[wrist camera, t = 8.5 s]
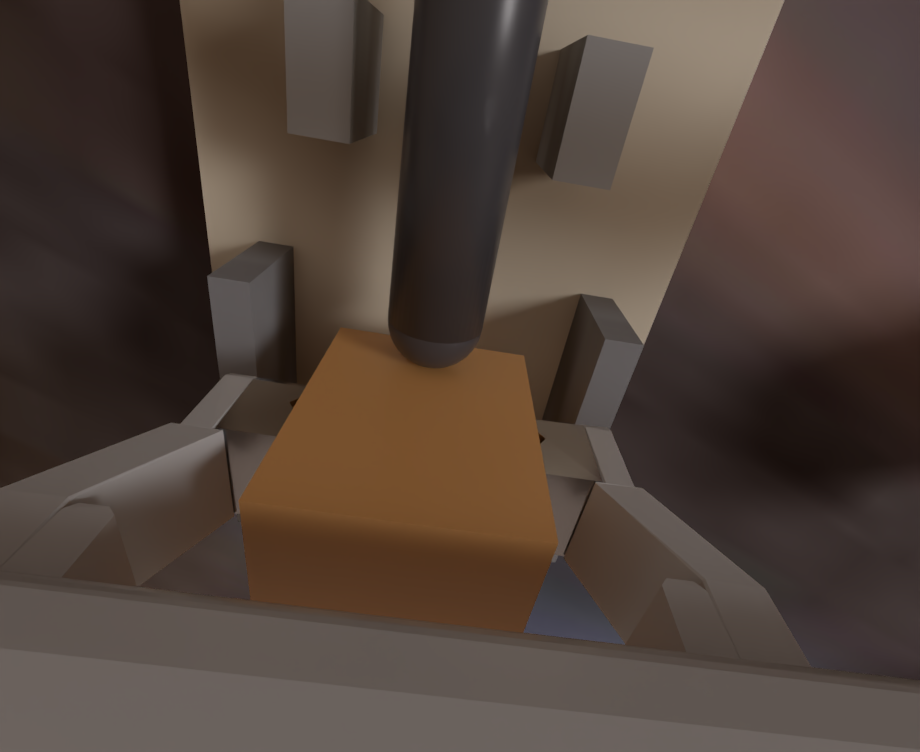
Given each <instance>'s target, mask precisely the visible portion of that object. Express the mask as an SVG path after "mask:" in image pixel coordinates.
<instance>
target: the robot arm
mask: <svg viewBox="0 0 920 752" xmlns="http://www.w3.org/2000/svg"><path fill="white" fill-rule="evenodd" d="M305 387H306V385H303V384H297V383H291V382H285V381H279V380H273V379H267V378H261V377H258V378H257V377H255V376H248V375H241V374H234V373H230V374H226V375H224V376H223V377H222V378H221V379H220V381H219V382H218V383H217V384H216V385H215V386H214V387H213V388H212V389H211V390H210V391H209V393H208V394H207V395H206V396H205V397H204V398H203V399H202V400H201V401H200V402H199V404H198V405H197V406H196V407H195V408H194V409H193V410H192V411H191V412H190V413H189V415H188V416H187V417H186V418H185V419H184V420H183V421H182V422H181V423H180V424H177V423H169V424H166V425H164V426H161V427H158V428H156V429H153V430H151V431H148V432H145V433H143V434H140V435H138V436H135V437H132V438H130V439H127V440H125V441H122V442H119V443H117V444H114V445H111V446H109V447H106V448H104V449H101V450H98V451H96V452H93V453H91V454H88V455H85V456H83V457H80V458H78V459H75V460H72V461H70V462H67V463H65V464H62V465H59V466H57V467H54V468H52V469H49V470H46V471H44V472H41V473H39V474H36V475H33V476H31V477H28V478H25V479H23V480H20V481H18V482H15V483H12V484H10V485H7V486H5V487H2V488H0V752H920V680H914V679H905V678H897V677H888V676H880V675H872V674H863V673H855V672H847V671H838V670H830V669H822V668H813V667H811V666H810V664H809V662H808V661H807V659H806V657H805V656H804V654H803V652H802V651H801V649H800V647H799V645H798V644H797V642H796V640H795V639H794V637H793V635H792V634H791V632H790V630H789V628H788V627H787V625H786V623H785V622H784V620H783V618H782V617H781V615H780V613H779V611H778V610H777V608H776V606H775V605H774V603H773V601H772V600H771V598H770V596H769V594H768V593H767V591H766V589H765V588H763V587H762V586H761V585H760V584H759V583H757V582H756V581H755V580H754V579H752V578H751V577H750V576H749V575H748V574H746V573H745V572H744V571H743V570H741V569H740V568H739V567H738V566H737V565H735V564H734V563H733V562H732V561H731V560H729V559H728V558H727V557H726V556H724V555H723V554H722V553H721V552H720V551H718V550H717V549H716V548H715V547H713V546H712V545H711V544H710V543H709V542H707V541H706V540H705V539H704V538H702V537H701V536H700V535H699V534H698V533H696V532H695V531H694V530H693V529H692V528H690V527H689V526H688V525H687V524H685V523H684V522H683V521H682V520H681V519H679V518H678V517H677V516H676V515H674V514H673V513H672V512H671V511H670V510H668V509H667V508H666V507H665V506H663V505H662V504H661V503H660V502H659V501H657V500H656V499H655V498H654V497H653V496H651V495H650V494H649V493H648V492H646V491H645V490H644V489H643V488H637V487H634V485H633V482H632V480H631V478H630V475H629V473H628V470H627V468H626V466H625V463H624V461H623V459H622V456H621V454H620V451H619V449H618V447H617V444H616V442H615V440H614V437H613V435H612V432H611V430H609V429H608V428H607V427H598V426H589V425H576V424H568V423H561V422H553V421H545V420H538V419H536V423H537V429H538V434H539V440H540V445H541V451H542V456H543V462H544V467H545V472H546V478H547V483H548V489H549V494H550V500H551V505H552V511H553V516H554V521H555V527H556V532H557V538H558V546H557V548H556V551H555V553H554V555H561V556H564V559H565V561H566V562H567V563H568V565H569V566H570V568H571V569H572V570H573V572H574V573H575V575H576V576H577V577H578V579H579V580H580V582H581V583H582V584H583V586H584V587H585V588H586V590H587V591H588V593H589V594H590V595H591V597H592V598H593V600H594V601H595V602H596V604H597V605H598V606H599V608H600V609H601V611H602V612H603V613H604V615H605V616H606V618H607V619H608V620H609V622H610V623H611V625H612V626H613V627H614V629H615V630H616V631H617V633H618V634H619V636H620V637H621V638H622V640H623V641H624V643H625V645H622V644H613V643H605V642H597V641H588V640H580V639H571V638H563V637H555V636H546V635H538V634H529V633H521V632H513V631H504V630H496V629H488V628H479V627H471V626H462V625H454V624H446V623H437V622H429V621H421V620H412V619H404V618H396V617H387V616H379V615H370V614H362V613H354V612H345V611H337V610H329V609H320V608H312V607H304V606H295V605H287V604H279V603H270V602H262V601H254V600H245V599H237V598H228V597H220V596H212V595H203V594H195V593H187V592H178V591H170V590H161V589H153V588H145V587H138V586H139V585H141V584H142V583H144V582H145V581H146V580H148V579H149V578H150V577H152V576H153V575H154V574H156V573H157V572H159V571H160V570H161V569H163V568H164V567H165V566H167V565H168V564H169V563H171V562H172V561H174V560H175V559H176V558H178V557H179V556H180V555H182V554H183V553H184V552H186V551H187V550H189V549H190V548H191V547H193V546H194V545H195V544H197V543H198V542H199V541H201V540H202V539H204V538H205V537H206V536H208V535H209V534H210V533H212V532H213V531H214V530H216V529H217V528H219V527H220V526H221V525H223V524H224V523H225V522H227V521H228V520H229V519H231V518H232V517H234V513H236V514H240V508H239V499H240V497H241V496H242V494H243V492H244V491H245V489H246V487H247V486H248V484H249V482H250V480H251V479H252V477H253V475H254V474H255V472H256V470H257V469H258V467H259V465H260V464H261V462H262V460H263V458H264V457H265V455H266V453H267V452H268V450H269V448H270V447H271V445H272V443H273V441H274V440H275V438H276V436H277V435H278V433H279V431H280V430H281V428H282V426H283V424H284V423H285V421H286V419H287V418H288V416H289V414H290V413H291V411H292V409H293V407H294V406H295V404H296V402H297V401H298V399H299V397H300V396H301V394H302V392H303V391H304V389H305Z"/></svg>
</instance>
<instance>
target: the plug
mask: <svg viewBox="0 0 920 752" xmlns="http://www.w3.org/2000/svg"><path fill="white" fill-rule="evenodd" d="M547 5H548V0H414V12H413V24H412V36H411V48H410V60H409V71H408V83H407V95H406V107H405V119H404V131H403V142H402V154H401V166H400V178H399V190H398V202H397V213H396V225H395V237H394V249H393V261H392V273H391V284H390V296H389V308H388V328H389V332H390V335H387V334H381V333H375V332H368V331H362V330H355V329H349V328H342V327H341V328H340V329H339V331H338V333H337V334H336V336H335V338H334V340H333V341H332V343H331V345H330V346H329V348H328V350H327V351H326V353H325V355H324V357H323V358H322V360H321V362H320V363H319V365H318V367H317V368H316V370H315V372H314V374H313V375H312V377H311V379H310V380H309V382H308V384H307V385H306V387H305V389H304V391H303V392H302V394H301V396H300V397H299V399H298V401H297V402H296V404H295V406H294V407H293V409H292V411H291V413H290V414H289V416H288V418H287V419H286V421H285V423H284V424H283V426H282V428H281V430H280V431H279V433H278V435H277V436H276V438H275V440H274V441H273V443H272V445H271V447H270V448H269V450H268V452H267V453H266V455H265V457H264V458H263V460H262V462H261V464H260V465H259V467H258V469H257V470H256V472H255V474H254V475H253V477H252V479H251V480H250V482H249V484H248V486H247V487H246V489H245V491H244V492H243V494H242V496H241V497H240V499H239V508H240V516H241V525H242V533H243V541H244V549H245V558H246V566H247V574H248V582H249V591H250V599H251V600H254V601H262V602H270V603H279V604H287V605H295V606H304V607H312V608H320V609H329V610H337V611H345V612H354V613H362V614H370V615H379V616H387V617H396V618H404V619H412V620H421V621H429V622H437V623H446V624H454V625H462V626H471V627H479V628H488V629H496V630H504V631H513V632H521V633H523V631H524V629H525V626H526V624H527V621H528V619H529V616H530V614H531V611H532V609H533V606H534V604H535V601H536V599H537V596H538V594H539V591H540V588H541V586H542V583H543V581H544V578H545V576H546V573H547V571H548V568H549V566H550V563H551V561H552V558H553V556H554V553H555V551H556V548H557V546H558V538H557V532H556V527H555V521H554V516H553V511H552V505H551V500H550V494H549V489H548V483H547V478H546V472H545V467H544V462H543V456H542V451H541V445H540V440H539V434H538V429H537V423H536V418H535V413H534V407H533V402H532V396H531V391H530V385H529V380H528V374H527V369H526V364H525V358H524V356H523V355H517V354H510V353H504V352H497V351H491V350H484V349H478V348H475V346H476V345H477V343H478V341H479V339H480V335H481V332H482V328H483V323H484V319H485V314H486V309H487V304H488V299H489V294H490V289H491V284H492V279H493V274H494V269H495V264H496V259H497V254H498V249H499V244H500V239H501V234H502V229H503V224H504V219H505V214H506V209H507V204H508V199H509V194H510V189H511V184H512V179H513V174H514V169H515V164H516V159H517V154H518V149H519V144H520V140H521V135H522V130H523V125H524V120H525V115H526V110H527V105H528V100H529V95H530V90H531V85H532V80H533V75H534V70H535V65H536V60H537V55H538V50H539V45H540V40H541V35H542V30H543V25H544V20H545V15H546V10H547Z"/></svg>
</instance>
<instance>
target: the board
mask: <svg viewBox="0 0 920 752" xmlns="http://www.w3.org/2000/svg"><path fill="white" fill-rule="evenodd" d="M783 3H784V0H548V5H547V10H546V15H545V20H544V25H543V30H542V35H541V40H540V45H539V50H538V55H537V60H536V65H535V70H534V75H533V80H532V85H531V90H530V95H529V100H528V105H527V110H526V115H525V120H524V125H523V130H522V135H521V140H520V144H519V149H518V154H517V159H516V164H515V169H514V174H513V179H512V184H511V189H510V194H509V199H508V204H507V209H506V214H505V219H504V224H503V229H502V234H501V239H500V244H499V249H498V254H497V259H496V264H495V269H494V274H493V279H492V284H491V289H490V294H489V299H488V304H487V309H486V314H485V319H484V323H483V328H482V332H481V335H480V339H479V341H478V343H477V345H476V346H475V348H478V349H484V350H491V351H497V352H504V353H510V354H517V355H523V356H524V358H525V364H526V369H527V374H528V380H529V385H530V391H531V396H532V402H533V407H534V413H535V418H536V419H538V420H545V421H553V422H561V423H568V424H576V425H589V426H598V427H607V428H608V429H609V430H610V427H611V425H612V422H613V420H614V418H615V415H616V413H617V410H618V408H619V405H620V403H621V400H622V398H623V396H624V393H625V391H626V388H627V386H628V383H629V381H630V378H631V376H632V374H633V371H634V369H635V366H636V364H637V361H638V359H639V356H640V354H641V352H642V349H643V347H644V343H645V341H646V338H647V336H648V333H649V331H650V328H651V326H652V324H653V321H654V319H655V316H656V314H657V311H658V309H659V306H660V304H661V302H662V299H663V297H664V294H665V292H666V289H667V287H668V284H669V282H670V279H671V277H672V275H673V272H674V270H675V267H676V265H677V262H678V260H679V257H680V255H681V253H682V250H683V248H684V245H685V243H686V240H687V238H688V235H689V233H690V231H691V228H692V226H693V223H694V221H695V218H696V216H697V213H698V211H699V208H700V206H701V204H702V201H703V199H704V196H705V194H706V191H707V189H708V186H709V184H710V182H711V179H712V177H713V174H714V172H715V169H716V167H717V164H718V162H719V160H720V157H721V155H722V152H723V150H724V147H725V145H726V142H727V140H728V137H729V135H730V133H731V130H732V128H733V125H734V123H735V120H736V118H737V115H738V113H739V111H740V108H741V106H742V103H743V101H744V98H745V96H746V93H747V91H748V89H749V86H750V84H751V81H752V79H753V76H754V74H755V71H756V69H757V66H758V64H759V62H760V59H761V57H762V54H763V52H764V49H765V47H766V44H767V42H768V40H769V37H770V35H771V32H772V30H773V27H774V25H775V22H776V20H777V18H778V15H779V13H780V10H781V8H782V5H783ZM180 8H181V16H182V24H183V33H184V41H185V50H186V58H187V66H188V75H189V83H190V92H191V100H192V108H193V117H194V125H195V133H196V142H197V150H198V159H199V167H200V175H201V184H202V192H203V201H204V209H205V217H206V226H207V234H208V242H209V251H210V259H211V268H212V273H211V274H209V275H208V276H207V280H208V288H209V296H210V304H211V312H212V320H213V328H214V336H215V344H216V352H217V360H218V368H219V376H220V379H221V378H222V377H223V376H224V375H226V374H230V373H234V374H241V375H248V376H255V377H257V378H258V377H261V378H267V379H273V380H279V381H285V382H291V383H297V384H303V385H307V384H308V382H309V380H310V379H311V377H312V375H313V374H314V372H315V370H316V368H317V367H318V365H319V363H320V362H321V360H322V358H323V357H324V355H325V353H326V351H327V350H328V348H329V346H330V345H331V343H332V341H333V340H334V338H335V336H336V334H337V333H338V331H339V329H340V328H341V327H342V328H349V329H355V330H362V331H368V332H375V333H381V334H387V335H390V332H389V328H388V308H389V296H390V284H391V273H392V261H393V249H394V237H395V225H396V213H397V202H398V190H399V178H400V166H401V154H402V142H403V131H404V119H405V107H406V95H407V83H408V71H409V60H410V48H411V36H412V24H413V12H414V0H180ZM237 519H238V522H241V516H240V514H237ZM557 557H558V555H554V556H553V558H552V561H551V562H556V559H557Z"/></svg>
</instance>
